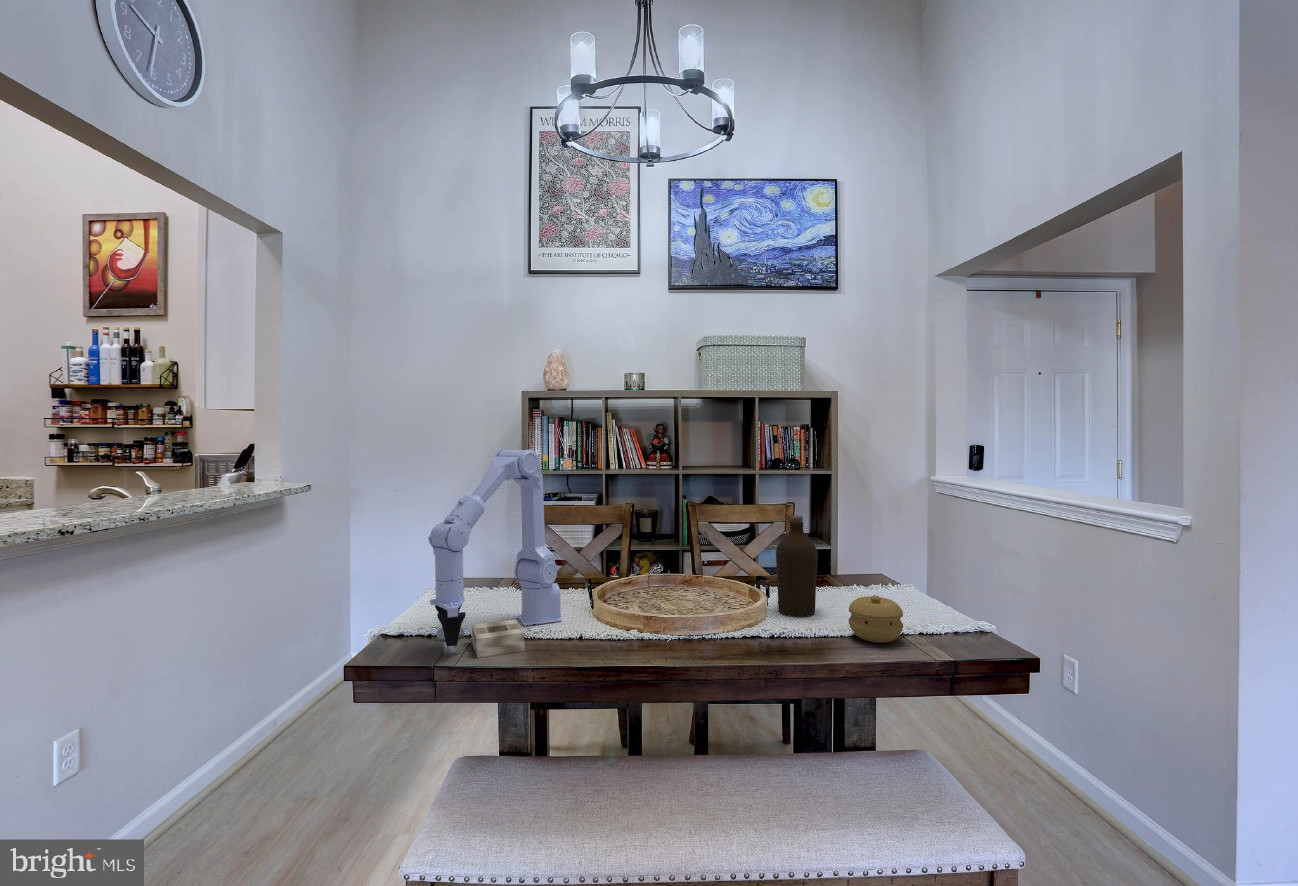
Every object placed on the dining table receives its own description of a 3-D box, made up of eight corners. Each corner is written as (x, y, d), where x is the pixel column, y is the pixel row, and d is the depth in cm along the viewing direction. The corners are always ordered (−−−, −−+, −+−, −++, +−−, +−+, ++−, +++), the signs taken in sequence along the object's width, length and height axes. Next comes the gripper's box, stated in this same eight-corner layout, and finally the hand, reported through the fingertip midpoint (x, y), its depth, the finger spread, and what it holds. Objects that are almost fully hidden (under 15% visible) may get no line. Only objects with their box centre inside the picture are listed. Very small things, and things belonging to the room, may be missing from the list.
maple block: (516, 636, 144) (515, 619, 144) (524, 650, 135) (524, 632, 135) (471, 642, 140) (471, 625, 140) (477, 657, 131) (477, 639, 131)
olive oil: (796, 620, 154) (796, 521, 153) (767, 610, 163) (767, 515, 162) (826, 613, 159) (826, 517, 159) (796, 603, 168) (796, 512, 168)
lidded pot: (879, 628, 148) (879, 586, 148) (915, 644, 137) (915, 600, 136) (837, 633, 144) (837, 591, 144) (870, 651, 133) (871, 605, 133)
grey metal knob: (462, 647, 137) (462, 624, 137) (465, 655, 132) (465, 632, 132) (436, 651, 135) (435, 628, 135) (438, 659, 130) (437, 636, 130)
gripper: (427, 572, 138) (429, 632, 139) (431, 588, 125) (433, 655, 125) (460, 569, 141) (461, 628, 141) (467, 584, 128) (469, 649, 128)
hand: (450, 640), depth 133 cm, fingers closed on grey metal knob, 6 cm apart
